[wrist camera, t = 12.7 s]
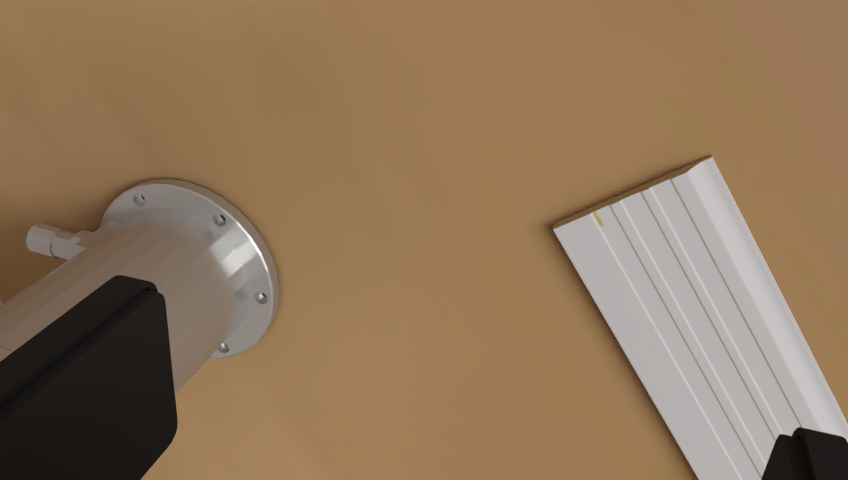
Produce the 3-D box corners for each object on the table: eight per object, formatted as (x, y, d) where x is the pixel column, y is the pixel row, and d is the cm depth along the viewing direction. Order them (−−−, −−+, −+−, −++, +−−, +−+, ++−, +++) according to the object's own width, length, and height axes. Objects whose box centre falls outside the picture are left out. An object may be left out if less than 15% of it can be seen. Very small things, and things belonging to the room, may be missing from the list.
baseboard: (741, 137, 36) (555, 218, 41) (744, 158, 34) (547, 241, 38) (962, 586, 43) (783, 611, 48) (978, 630, 41) (788, 651, 46)
